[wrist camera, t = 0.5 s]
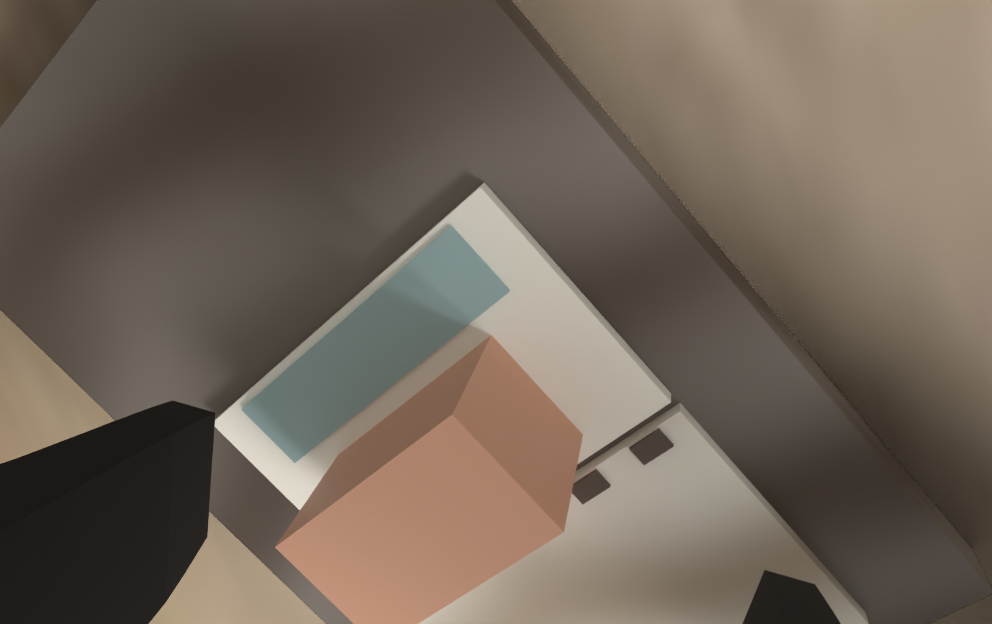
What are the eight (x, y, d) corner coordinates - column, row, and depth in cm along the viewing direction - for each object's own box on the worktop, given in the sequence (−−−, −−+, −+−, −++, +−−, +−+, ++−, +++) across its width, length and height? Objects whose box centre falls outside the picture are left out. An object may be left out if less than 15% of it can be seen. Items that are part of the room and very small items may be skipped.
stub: (671, 393, 18) (669, 497, 15) (388, 582, 22) (332, 703, 18) (484, 182, 17) (434, 238, 14) (219, 415, 21) (126, 508, 17)
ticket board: (972, 549, 20) (1002, 608, 18) (531, 768, 25) (520, 830, 24) (316, -231, 16) (273, -255, 15) (-33, 215, 22) (-97, 238, 20)
